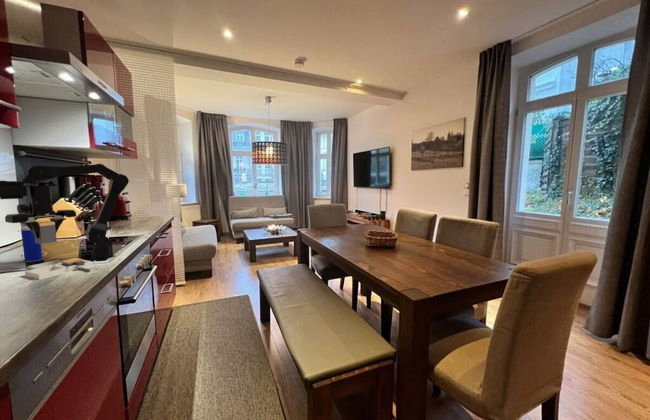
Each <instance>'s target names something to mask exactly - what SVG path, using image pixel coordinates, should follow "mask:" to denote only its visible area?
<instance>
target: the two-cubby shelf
mask: <svg viewBox="0 0 650 420" xmlns="http://www.w3.org/2000/svg"><path fill="white" fill-rule="evenodd" d="M82 262H83V263H85V265H82V266H81V265H73V266H69V267H66V266H62V263H58V264H54V265H49V266H45V267H41V268H36V269H28V270H25V271H24V275H25V277H27V278H31V279H36V280H43V279H47V278H51V277H54V276H59V275H62V274H67V273H70V272H74V271H79V270H78V268H80V267H83V268H89V267H90V268H91V267H92V266H93V262H92V261H91V260H85V259H82Z"/></svg>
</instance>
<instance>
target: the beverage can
mask: <svg viewBox="0 0 650 420" xmlns="http://www.w3.org/2000/svg"><path fill="white" fill-rule="evenodd" d="M20 232H21V234H20V235H21V241H22V247H23V256H24V257H23V259H24V262H25V263H33V262H38V261H42V260H43V259H44V258H43V251H42V244H39V243H35V236H34V235H33V233H32V232H31V230H30V229H29V228H28V226H27V225H26V226H21V228H20Z"/></svg>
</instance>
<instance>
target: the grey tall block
mask: <svg viewBox="0 0 650 420" xmlns="http://www.w3.org/2000/svg"><path fill="white" fill-rule="evenodd" d="M37 222H38V228H39V239H36V238H35V243H39V244H41V245H44V244H51V243H56V242H57V241H58V240H57V233H56V229H55V222H51V221H50V220H48V221H37Z"/></svg>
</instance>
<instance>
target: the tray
mask: <svg viewBox="0 0 650 420" xmlns="http://www.w3.org/2000/svg"><path fill="white" fill-rule="evenodd" d="M61 261H62V260H59V259H54V260H50V261H47V262H45V261H44V262H41V263H38V264H32V265H28V266H26V267H27V269H28V270H32V269H36V268H41V267H45V266H49V265H54V264H58V263H62V262H61Z"/></svg>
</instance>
